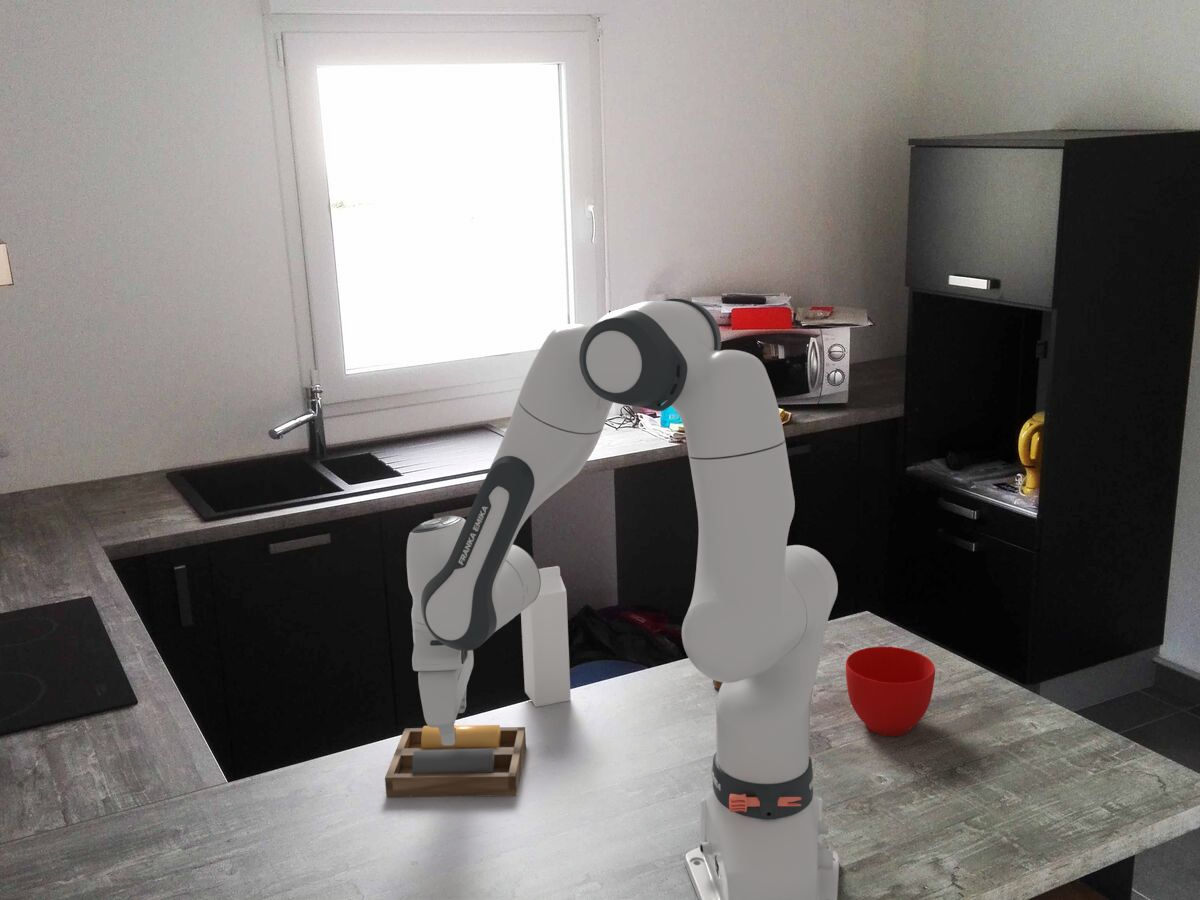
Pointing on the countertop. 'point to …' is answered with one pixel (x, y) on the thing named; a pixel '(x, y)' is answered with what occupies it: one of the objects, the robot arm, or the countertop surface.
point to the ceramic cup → (889, 688)
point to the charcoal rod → (454, 761)
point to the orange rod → (464, 737)
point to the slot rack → (457, 784)
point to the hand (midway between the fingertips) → (454, 726)
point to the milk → (547, 642)
